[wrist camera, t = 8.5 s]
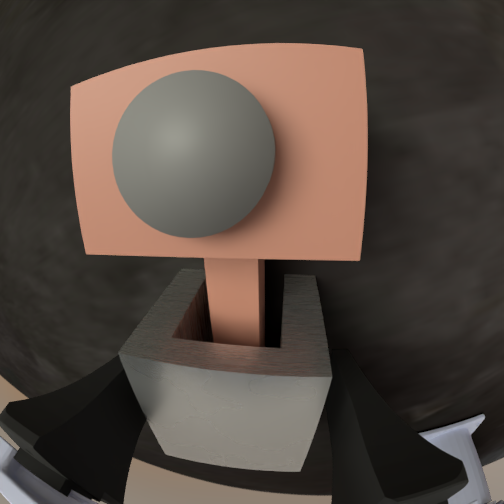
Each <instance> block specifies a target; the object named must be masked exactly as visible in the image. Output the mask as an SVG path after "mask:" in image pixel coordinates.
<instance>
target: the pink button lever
mask: <svg viewBox="0 0 504 504" xmlns="http://www.w3.org/2000/svg"><path fill="white" fill-rule="evenodd" d="M70 125H71V151H72V165H73V176H74V185H75V194H76V201H77V208H78V214H79V220H80V226H81V231H82V236H83V241H84V246H85V251H86V254H96V255H127V256H161V257H199V258H204V264H205V274H206V284H207V293H208V301H209V310H210V318H211V326H212V333H213V341H214V343H219V344H229V345H240V346H253V347H265V259H287V260H343V261H360V254H361V246H362V237H363V226H364V215H365V202H366V184H367V154H368V126H367V96H366V80H365V68H364V57H363V49H358V48H351V47H342V46H332V45H320V44H299V43H269V44H247V45H235V46H225V47H216V48H208V49H201V50H195V51H189V52H184V53H178V54H173V55H169V56H164V57H160V58H156V59H151V60H148V61H144V62H140V63H136V64H133V65H129V66H126V67H123V68H120V69H117V70H114V71H111V72H108V73H105V74H102V75H99V76H96V77H94V78H91V79H89V80H86V81H83V82H81V83H79V84H76V85H74V86H71V107H70Z"/></svg>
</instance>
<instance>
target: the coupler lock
mask: <svg viewBox="0 0 504 504" xmlns="http://www.w3.org/2000/svg"><path fill="white" fill-rule="evenodd" d="M118 354H119V357H120V359H121V362H122V364H123V367H124V370H125V372H126V375H127V377H128V379H129V382H130V384H131V386H132V389H133V391H134V393H135V396H136V398H137V400H138V402H139V404H140V407H141V409H142V411H143V413H144V415H145V417H146V419H147V421H148V423H149V425H150V427H151V429H152V431H153V433H154V434H155V436H156V438H157V440H158V442H159V444H160V445H161V447H162V449H163V451H164V452H165V454H166V455H170V456H174V457H178V458H183V459H187V460H192V461H197V462H202V463H208V464H213V465H220V466H227V467H234V468H243V469H253V470H266V471H290V472H300V470H301V468H302V466H303V463H304V460H305V458H306V455H307V453H308V450H309V447H310V445H311V442H312V439H313V437H314V434H315V431H316V428H317V425H318V422H319V419H320V416H321V413H322V410H323V407H324V404H325V400H326V397H327V394H328V390H329V387H330V383H331V380H332V371H331V364H330V357H329V351H328V344H327V338H326V332H325V326H324V321H323V315H322V309H321V304H320V298H319V293H318V288H317V283H316V278H315V275H297V274H285V277H284V294H283V310H282V324H281V338H280V348H268V347H253V346H240V345H229V344H219V343H214V341H213V333H212V326H211V318H210V310H209V301H208V293H207V284H206V274H205V270H199V269H183V268H182V269H181V271H180V272H179V273H178V274H177V276H176V277H175V278H174V279H173V281H172V282H171V283H170V284H169V286H168V287H167V288H166V290H165V291H164V292H163V293H162V295H161V296H160V297H159V299H158V300H157V301H156V303H155V304H154V305H153V306H152V308H151V309H150V310H149V312H148V313H147V314H146V316H145V317H144V318H143V320H142V321H141V322H140V324H139V325H138V326H137V328H136V329H135V330H134V332H133V333H132V334H131V336H130V337H129V338H128V340H127V341H126V342H125V344H124V345H123V347H122V348H121V349H120V351H119V352H118Z"/></svg>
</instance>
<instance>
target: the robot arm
mask: <svg viewBox="0 0 504 504" xmlns="http://www.w3.org/2000/svg"><path fill="white" fill-rule="evenodd" d="M330 364H331V371H332V380H331V383H330V387H329V390H328V394H327V397H326V410H327V417H328V424H329V431H330V438H331V445H332V455H333V483H332V503H331V504H487V503H489V502H490V501H492V500H491V496H490V492H489V489H488V485H487V482H486V479H485V475H484V472H483V469H482V466H481V463H480V460H479V457H478V454H477V451H476V448H475V446H474V443H473V440H472V438H471V434H472V433H473V432H474V431H475V430H476V428H477V427H478V426H479V425H480V424H481V422H482V421H483V420H484V419H485V415H484V414H481V415H478V416H476V417H473V418H470V419H467V420H464V421H461V422H458V423H455V424H452V425H448V426H445V427H441V428H438V429H434V430H430V431H426V432H422V433H417V432H416V431H414V430H413V429H412V428H411V427H410V426H408V425H407V424H406V423H405V422H404V421H403V420H402V419H401V418H400V417H399V416H398V415H397V414H396V413H395V412H394V411H393V410H392V409H391V408H390V407H389V405H388V404H387V403H386V402H385V401H384V400H383V398H382V397H381V396H380V395H379V394H378V392H377V391H376V390H375V388H374V387H373V386H372V384H371V383H370V382H369V380H368V379H367V378H366V376H365V375H364V373H363V372H362V370H361V369H360V367H359V366H358V364H357V363H356V361H355V360H354V358H353V356H352V355H351V353H350V352H349V350H348V349H334V350H332V353H331V358H330ZM145 421H146V417H145V415H144V413H143V411H142V409H141V407H140V404H139V402H138V400H137V398H136V396H135V393H134V391H133V389H132V386H131V384H130V382H129V379H128V377H127V375H126V372H125V370H124V367H123V364H122V362H121V359H120V357H119V355H118V356H116V357H115V358H113V359H112V360H111V361H109V362H108V363H106V364H105V365H103V366H102V367H100V368H99V369H97V370H95V371H94V372H92V373H91V374H89V375H87V376H86V377H84V378H82V379H80V380H78V381H76V382H74V383H72V384H70V385H68V386H66V387H63V388H61V389H59V390H56V391H54V392H51V393H48V394H45V395H42V396H38V397H34V398H30V399H26V400H20V401H14V402H9V404H8V405H7V406H6V408H5V409H4V410H3V411H2V413H1V414H0V426H1V428H2V429H3V430H4V431H5V432H6V433H7V434H8V435H9V437H10V438H11V439H12V440H13V441H14V442H15V443H16V444H17V445H18V446H19V447H20V448H19V450H18V451H17V450H16V449H15V448H14V447H13V446H11V445H10V444H9V443H8V442H7V441H6V440H4V439H3V438H2V437H1V436H0V493H2V495H3V496H4V497H5V498H6V499H7V500H8V501H9V502H10V504H98V503H96V502H94V501H92V500H91V499H94V500H96V501H99V502H100V501H103V502H105V503H107V504H123V502H124V494H125V487H126V482H127V477H128V472H129V467H130V464H131V460H132V457H133V453H134V450H135V447H136V444H137V440H138V437H139V435H140V432H141V430H142V428H143V426H144V424H145ZM489 504H504V501H503V500H500V501H499V502H497V503H496V501H493V502H491V503H489Z"/></svg>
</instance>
